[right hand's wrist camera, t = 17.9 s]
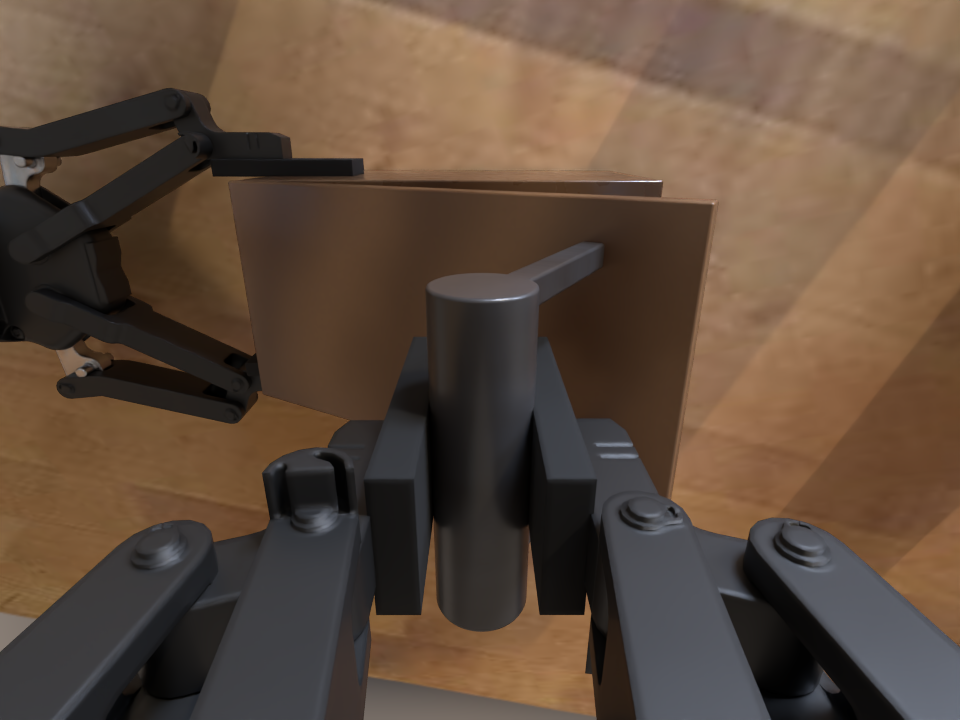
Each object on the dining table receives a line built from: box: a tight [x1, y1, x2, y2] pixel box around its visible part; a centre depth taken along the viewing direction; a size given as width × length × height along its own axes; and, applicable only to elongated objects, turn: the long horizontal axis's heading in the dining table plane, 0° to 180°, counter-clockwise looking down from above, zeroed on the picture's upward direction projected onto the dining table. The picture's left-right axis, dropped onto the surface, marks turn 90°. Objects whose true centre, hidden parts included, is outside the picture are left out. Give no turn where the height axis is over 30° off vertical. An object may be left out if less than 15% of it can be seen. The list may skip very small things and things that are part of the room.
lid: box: [228, 180, 718, 632], centre depth 16 cm, size 18×9×8 cm
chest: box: [245, 170, 663, 197], centre depth 29 cm, size 17×9×10 cm, turn 90°
